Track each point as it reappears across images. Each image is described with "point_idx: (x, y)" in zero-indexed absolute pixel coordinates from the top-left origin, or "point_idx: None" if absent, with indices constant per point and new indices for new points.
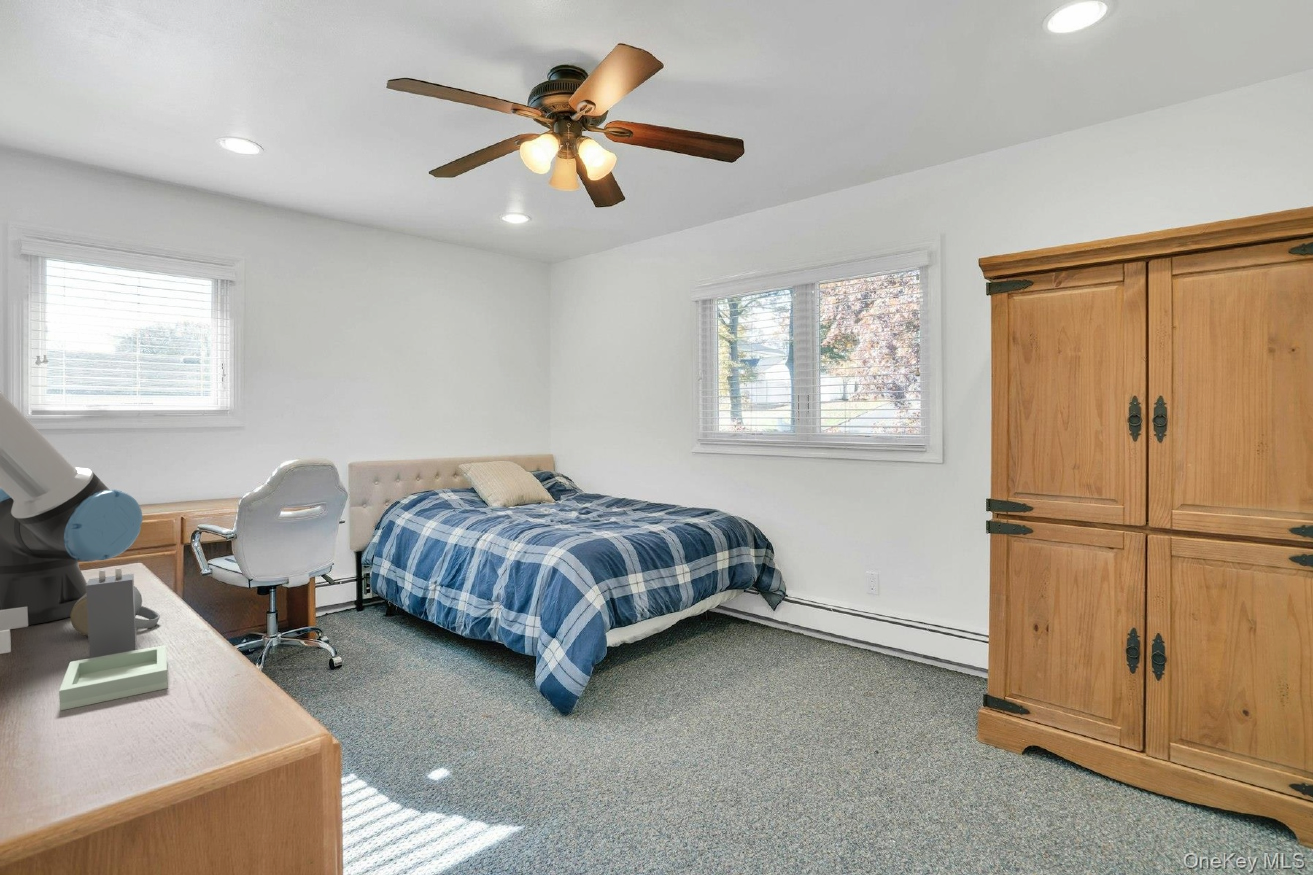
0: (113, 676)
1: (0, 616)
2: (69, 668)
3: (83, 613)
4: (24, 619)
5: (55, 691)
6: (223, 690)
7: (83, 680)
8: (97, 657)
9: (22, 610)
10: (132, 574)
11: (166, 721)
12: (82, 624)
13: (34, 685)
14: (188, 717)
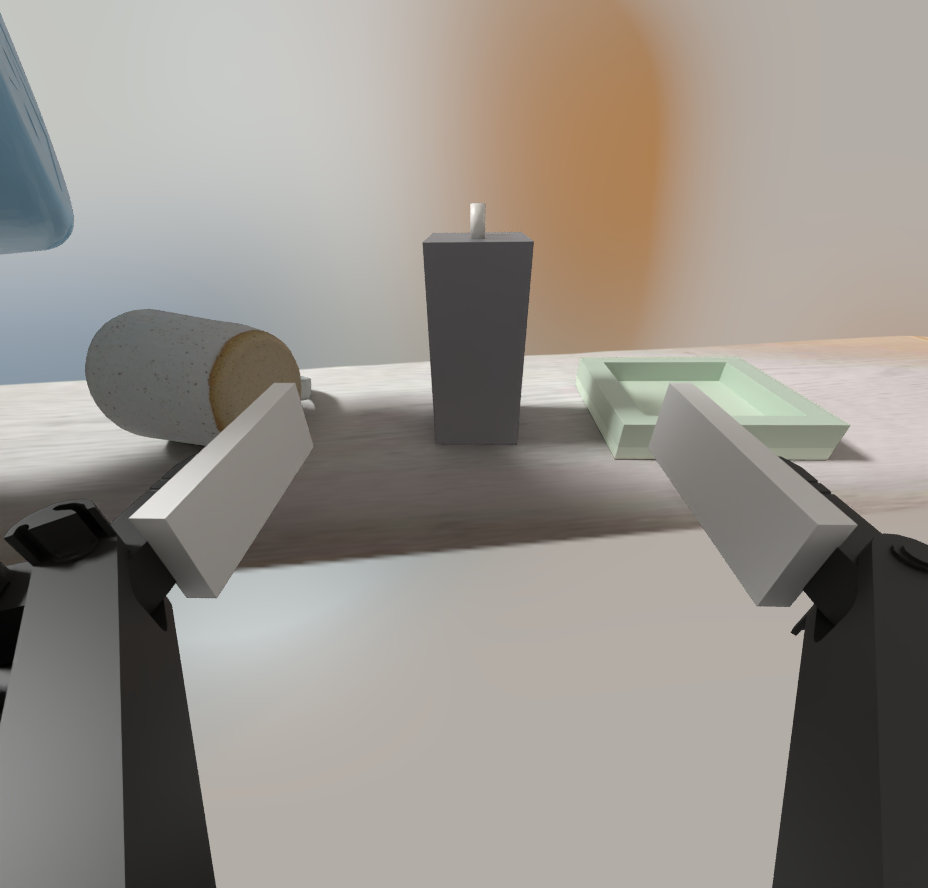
0: None
1: (268, 443)
2: None
3: (244, 394)
4: (304, 427)
5: None
6: (752, 359)
7: None
8: (613, 401)
9: (292, 397)
10: (444, 233)
11: (878, 386)
12: None
13: (626, 501)
14: (861, 376)
